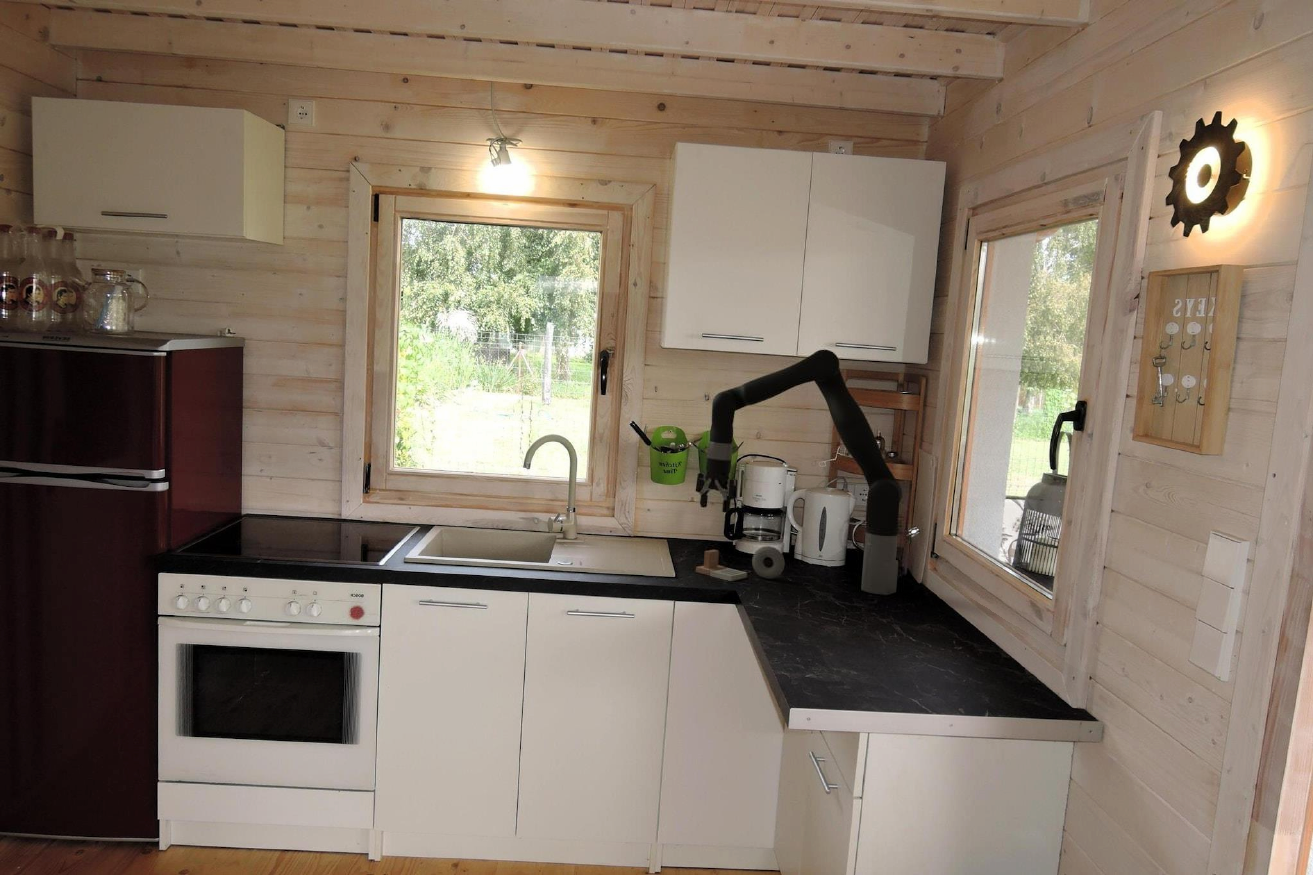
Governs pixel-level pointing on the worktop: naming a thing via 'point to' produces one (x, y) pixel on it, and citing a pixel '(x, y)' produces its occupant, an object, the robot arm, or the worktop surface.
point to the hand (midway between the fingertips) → (714, 509)
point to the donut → (761, 568)
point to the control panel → (728, 574)
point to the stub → (709, 562)
